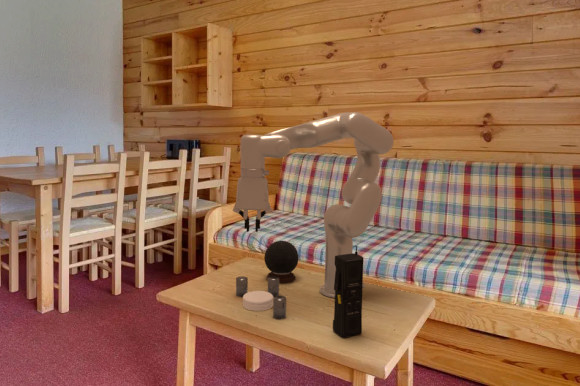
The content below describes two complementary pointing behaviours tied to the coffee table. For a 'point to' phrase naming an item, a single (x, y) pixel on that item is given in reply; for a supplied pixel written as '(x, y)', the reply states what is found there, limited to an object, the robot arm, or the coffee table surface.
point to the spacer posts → (273, 288)
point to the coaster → (258, 300)
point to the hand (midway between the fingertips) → (252, 230)
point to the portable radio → (348, 294)
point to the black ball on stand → (281, 261)
